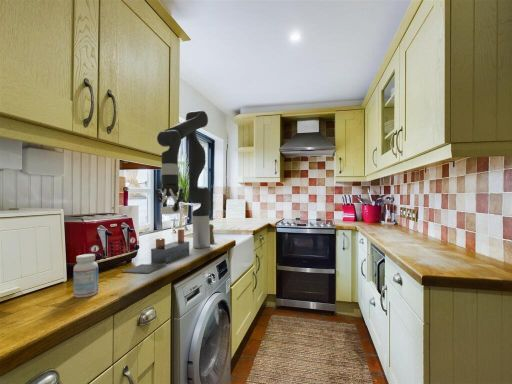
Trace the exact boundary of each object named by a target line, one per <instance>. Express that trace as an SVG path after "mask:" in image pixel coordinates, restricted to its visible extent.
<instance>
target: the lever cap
mask: <svg viewBox="0 0 512 384" xmlns="http://www.w3.org/2000/svg"><path fill="white" fill-rule="evenodd" d="M174 214H175V215H176V214H181V206H180V205H179V210H178V211H177V212H175V211H174V204H167V207H162V206H161V207H160V215H174Z"/></svg>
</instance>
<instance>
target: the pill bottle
mask: <svg viewBox="0 0 512 384" xmlns="http://www.w3.org/2000/svg"><path fill="white" fill-rule="evenodd" d="M75 258H76V259H75V260H76V264H75V265H74V266H73V271H72V272H73V273H72V275H73V277H72V278H73V296H74V297H75V298H76V299H77V298H78V299H79V298H80V299H81V298H82V299H83V298H89V297H92V296H95V295H96V294H98V293H99V290H100V289H99V265H98V263H97V262H96V261H95V260H96V254H95V253H84V254H81V255H76V257H75Z"/></svg>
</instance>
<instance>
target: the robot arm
mask: <svg viewBox="0 0 512 384" xmlns="http://www.w3.org/2000/svg"><path fill="white" fill-rule="evenodd" d="M185 115H186V116H185V120H184V121H180V122H178V123H176V124H175V125H173V126H172V127H169V128H165V129H163V130H161V131H160V132H159V133H158V134H157V136H156V140H157V143H158V144H159V146H161V147H163V148H164V147H165V148H166V147H167V148H168V149H167V150H165V151H162V152H161V169H160V170H161V172H160V174H161V177H160V178H161V188H159V189H155V194H156V198H157V202H158V203H161V204H162V205H161V207H168V199H169V198H170V197H171V198H172V200H173V202H174V203H173V205H174V211H175V212H177V211H178V210H179V206H180V203H181V202H183V201H184V197H185V192H186V189H185V188H181V187H180V186H179V184H180V180H179V178H180V177H179V176H180V175H179V173H180V172H179V166H178V165H179V163H178V161H179V159H178V157H179V156H178V155H179V152H180V148H181V144H182V140H183V139H184V138H186V137H187V143H188V144H187V146H188V148H187V149H188V167H189V168H188V170H189V173H188V174H189V175H188V176H189V179H188V181H189V182H188V200H189V202H190V203H191V204H198V205H199V204H200V205H199V207H198V208H197V209H194V210H192V217H191V218H192V220H191V221H192V248H195V249H205V248H209V247H210V246H211V243H210V227H209V224H210V209H211V192H210V191H211V190H210V189H209V187H207V186H199V178H200V177H201V174H202V172H203V170H204V168H205V166H206V162H207V161H206V159H207V157H206V150H205V148H204V146H203V145H202V144H201V142H200V141H199V139H198V136H197V130H200V129H202V128H205V127H207V125H208V122H209V117H208V114H207V113H206V111H204V110H193V111H192V110H191V111H188V112H187V113H186V114H185Z"/></svg>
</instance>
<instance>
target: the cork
mask: <svg viewBox="0 0 512 384" xmlns="http://www.w3.org/2000/svg"><path fill="white" fill-rule="evenodd" d="M209 227H210V244H214V243H215V236H214V225H213V224H210V223H209ZM213 242H214V243H213Z"/></svg>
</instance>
